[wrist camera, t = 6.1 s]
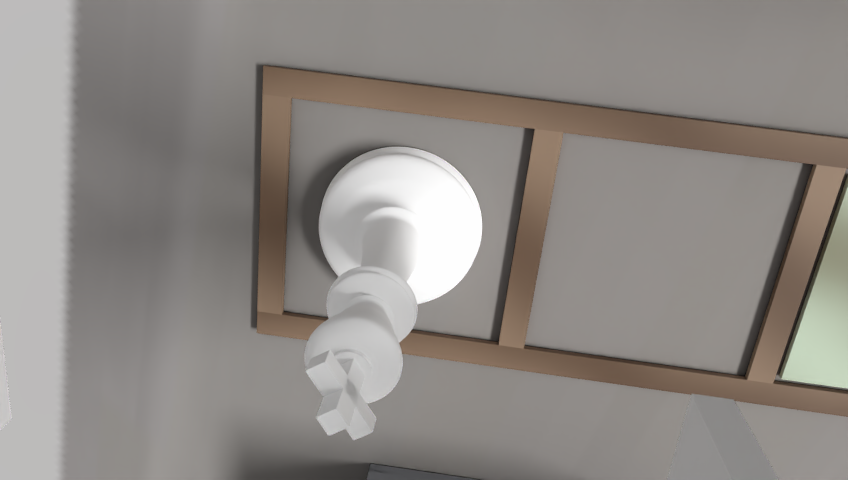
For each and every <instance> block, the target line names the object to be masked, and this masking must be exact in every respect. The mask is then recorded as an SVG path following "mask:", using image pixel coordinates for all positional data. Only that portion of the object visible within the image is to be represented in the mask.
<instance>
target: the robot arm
mask: <svg viewBox="0 0 848 480" xmlns="http://www.w3.org/2000/svg"><path fill="white" fill-rule="evenodd" d="M11 419H12V417H11V408H10V399H9V391H8V382H7V373H6V365H5V356H4V348H3V339H2V331H1V321H0V430H1V429H2V428H3V427H4V426H5V425H6V424H7V423H8V422H9V421H11ZM667 480H779V479H778V477H777V475H776V473H775V472H774V470H773V468H772V466H771V465H770V463H769V461H768V459H767V458H766V456H765V454H764V452H763V450H762V449H761V447H760V445H759V443H758V442H757V440H756V438H755V436H754V435H753V433H752V431H751V429H750V428H749V426H748V424H747V422H746V421H745V419H744V417H743V415H742V413H741V412H740V410H739V408H738V406H737V405H736V403H735V401H734V399H726V398H719V397H712V396H705V395H697V394H691V397H690V401H689V404H688V408H687V411H686V415H685V418H684V422H683V425H682V429H681V432H680V436H679V439H678V443H677V446H676V450H675V453H674V457H673V460H672V464H671V467H670V471H669V474H668V478H667Z"/></svg>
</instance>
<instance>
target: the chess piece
mask: <svg viewBox="0 0 848 480" xmlns="http://www.w3.org/2000/svg"><path fill="white" fill-rule="evenodd" d="M319 236H320V242H321V246H322V249H323V252H324V255H325V257H326V259H327V261H328V263H329V264H330V266H331V268H332V269H333V271H334V272H335V273H336V274H337V276H338V278H337V279H336V280H335V281H334V283H333V284H332V286H331V288H330V290H329V293H328V296H327V313H328V318H329V319H328V320H326V321H325V322H323V323H322V324H321V325H319V326H318V327H317V328H316V329H315V330H314V332H313V333H312V334H311V336H310V338H309V340H308V342H307V344H306V348H305V355H304V358H305V366H306V370H305V372H306V373H307V374H308V376H309V377H310V379H311V380H312V382H313V383H314V384H315V386H316V387H317V389H318V390H319V392H320V393H321V395H322V396H323V400H322V402H321V405H320V408H319V410H318V413H317V415H316V419H317V420H318V422H319V423H320V424H321V426H322V427H323V429H324V430H325V431H326V433H327V434H328V436H330V435H332V434H335V433H337V432H339V431H342V430H344V429H346V430H347V432H348V433H349V435H350V436H351V438H352V439H353V440H356V439H358V438H360V437H363V436H365V435H367V434H370V433H372V432H373V430H374V427H375V423H376V419H377V418H376V417H375V415H374V414H373V412H372V411H371V409H370V408H369V406H368V405H367V403H371V402H374V401H377V400H379V399H381V398H383V397H384V396H386V395H387V394H388V393H390V392H391V391H392V390H393V388H394V387H395V386H396V384H397V383H398V381H399V379H400V376H401V373H402V368H403V356H402V351H401V347H400V344H399V342H401V341H402V340H403V339H404V338H405V337H406V336H407V335H408V334H409V333H410V332H411V330H412V329H413V327H414V325H415V322H416V318H417V309H418V308H417V304H420V303H424V302H428V301H431V300H433V299H436V298H438V297H440V296H442V295H443V294H445V293H447V292H448V291H449V290H451V289H452V288H453V287H455V286H456V285H457V284H458V283H459V282H460V281H461V280H462V278H463V277H464V276H465V275H466V273H467V272H468V270H469V269H470V267H471V265H472V263H473V261H474V259H475V256H476V254H477V252H478V249H479V246H480V242H481V236H482V217H481V211H480V207H479V204H478V201H477V198H476V196H475V194H474V192H473V190H472V188H471V187H470V185H469V184H468V182H467V181H466V179H465V178H464V177H463V176H462V175H461V174H460V173H459V172H458V171H457V170H456V169H455V168H454V167H453V166H452V165H450V164H449V163H448V162H446V161H445V160H443V159H442V158H440V157H438V156H436V155H434V154H432V153H429V152H426V151H423V150H420V149H416V148H410V147H385V148H380V149H376V150H372V151H369V152H367V153H364V154H362V155H360V156H358V157H357V158H355V159H353V160H352V161H350V162H349V163H348V164H346V165H345V166H344V167H343V168H342V169H341V170H340V171H339V172H338V173H337V175H336V176H335V177H334V178H333V180H332V181H331V183H330V185H329V187H328V188H327V191H326V193H325V196H324V199H323V202H322V207H321V211H320V216H319Z"/></svg>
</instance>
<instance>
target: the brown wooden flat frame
mask: <svg viewBox="0 0 848 480" xmlns="http://www.w3.org/2000/svg"><path fill="white" fill-rule="evenodd" d="M292 98H295V99H303V100H311V101H319V102H327V103H334V104H342V105H350V106H358V107H366V108H374V109H382V110H390V111H397V112H405V113H413V114H421V115H429V116H437V117H445V118H453V119H460V120H468V121H476V122H484V123H492V124H500V125H508V126H515V127H523V128H531V129H534V134H533V140H532V146H531V152H530V158H529V164H528V170H527V176H526V182H525V188H524V194H523V200H522V206H521V212H520V218H519V224H518V229H517V235H516V241H515V247H514V253H513V259H512V265H511V271H510V277H509V283H508V289H507V295H506V301H505V307H504V313H503V319H502V325H501V330H500V336H499V342H495V341H488V340H481V339H473V338H466V337H459V336H452V335H445V334H438V333H431V332H424V331H416V330H411V332H410V333H409V334H408V335H407V336H406V337H405V338H404V339H403V340H402V341H401V342H399V344H400V347H401V351H402V354H409V355H416V356H423V357H430V358H437V359H444V360H451V361H458V362H465V363H472V364H479V365H486V366H493V367H500V368H507V369H514V370H521V371H528V372H536V373H543V374H550V375H557V376H564V377H571V378H578V379H585V380H592V381H599V382H606V383H613V384H620V385H627V386H634V387H641V388H648V389H655V390H662V391H670V392H677V393H684V394H697V395H705V396H712V397H719V398H726V399H734V401H740V402H747V403H754V404H761V405H768V406H775V407H782V408H789V409H797V410H804V411H811V412H818V413H825V414H832V415H839V416H846V417H848V391H844V390H837V389H830V388H823V387H816V386H809V385H801V384H794V383H787V382H780V381H774V379H775V377H776V374H777V371H778V368H779V365H780V362H781V359H782V356H783V353H784V350H785V347H786V344H787V341H788V338H789V335H790V332H791V330H792V327H793V324H794V321H795V318H796V315H797V312H798V309H799V306H800V303H801V300H802V297H803V294H804V291H805V288H806V285H807V283H808V280H809V277H810V274H811V271H812V268H813V265H814V262H815V259H816V256H817V253H818V250H819V247H820V244H821V241H822V238H823V236H824V233H825V230H826V227H827V224H828V221H829V218H830V215H831V212H832V209H833V206H834V203H835V200H836V197H837V194H838V191H839V189H840V186H841V183H842V180H843V177H844V174H845V171H846V169H848V138H844V137H836V136H828V135H820V134H812V133H804V132H796V131H788V130H780V129H772V128H764V127H756V126H748V125H740V124H732V123H724V122H716V121H708V120H700V119H692V118H684V117H677V116H669V115H661V114H653V113H645V112H637V111H629V110H621V109H613V108H605V107H597V106H589V105H581V104H573V103H565V102H557V101H549V100H541V99H533V98H525V97H517V96H509V95H501V94H493V93H485V92H477V91H469V90H461V89H453V88H445V87H437V86H429V85H421V84H413V83H405V82H397V81H389V80H381V79H373V78H365V77H357V76H349V75H341V74H333V73H325V72H317V71H309V70H301V69H293V68H285V67H277V66H269V65H264V66H263V95H262V136H261V178H260V219H259V261H258V303H257V333H260V334H267V335H275V336H282V337H289V338H296V339H303V340H309V338H310V336H311V334H312V333H313V332H314V330H315V329H316V328H317V327H318V326H319V325H321V324H322V323H323V322H325V321H326V320H328V319H329V318H324V317H317V316H309V315H302V314H295V313H288V312H283V309H284V284H285V258H286V233H287V208H288V182H289V157H290V131H291V106H292ZM563 133H571V134H578V135H586V136H594V137H602V138H610V139H618V140H626V141H634V142H641V143H649V144H657V145H665V146H673V147H681V148H689V149H696V150H704V151H712V152H720V153H728V154H736V155H744V156H752V157H759V158H767V159H775V160H783V161H791V162H799V163H807V164H813V167H812V170H811V173H810V177H809V180H808V183H807V186H806V189H805V192H804V195H803V198H802V201H801V204H800V208H799V211H798V214H797V217H796V220H795V223H794V226H793V229H792V232H791V236H790V239H789V242H788V245H787V248H786V251H785V254H784V257H783V260H782V263H781V267H780V270H779V273H778V276H777V279H776V282H775V285H774V288H773V291H772V295H771V298H770V301H769V304H768V307H767V310H766V313H765V316H764V319H763V322H762V326H761V329H760V332H759V335H758V338H757V341H756V344H755V347H754V350H753V354H752V357H751V360H750V363H749V366H748V369H747V372H746V375H745V377H744V376H737V375H730V374H723V373H716V372H709V371H702V370H695V369H687V368H680V367H673V366H666V365H659V364H652V363H645V362H637V361H630V360H623V359H616V358H609V357H602V356H595V355H588V354H580V353H573V352H566V351H559V350H552V349H545V348H538V347H531V346H524V345H525V339H526V334H527V328H528V323H529V317H530V312H531V307H532V301H533V296H534V290H535V285H536V279H537V274H538V268H539V263H540V258H541V252H542V247H543V241H544V236H545V230H546V225H547V220H548V214H549V209H550V203H551V198H552V192H553V187H554V182H555V176H556V171H557V165H558V160H559V154H560V149H561V144H562V138H563ZM779 376H780V378H781V379H784V380H791V381H798V382H805V383H812V384H820V385H827V386H834V387H841V388H848V176H847V179H846V182H845V185H844V188H843V190H842V193H841V196H840V199H839V202H838V205H837V208H836V211H835V214H834V217H833V220H832V223H831V226H830V228H829V231H828V234H827V237H826V240H825V243H824V246H823V249H822V252H821V255H820V258H819V261H818V263H817V266H816V269H815V272H814V275H813V278H812V281H811V284H810V287H809V290H808V293H807V296H806V299H805V301H804V304H803V307H802V310H801V313H800V316H799V319H798V322H797V325H796V328H795V331H794V334H793V336H792V339H791V342H790V345H789V348H788V351H787V354H786V357H785V360H784V363H783V366H782V369H781V372H780V374H779Z"/></svg>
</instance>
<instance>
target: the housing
mask: <svg viewBox="0 0 848 480" xmlns="http://www.w3.org/2000/svg"><path fill="white" fill-rule="evenodd" d="M367 480H477V479H470V478H464V477H457V476H450V475H443V474H437V473H430V472H423V471H417V470H410V469H403V468H396V467H390V466H383V465H376V464H370V468H369V472H368V476H367Z"/></svg>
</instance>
